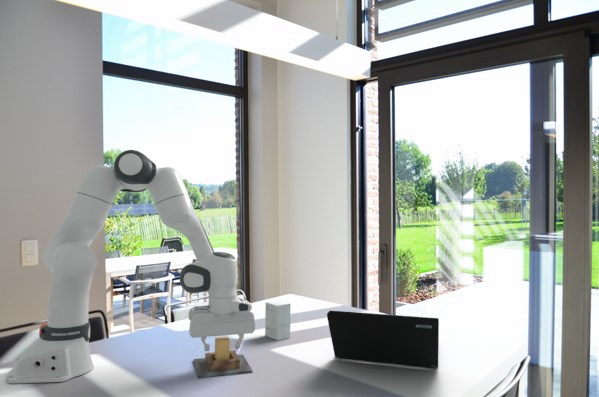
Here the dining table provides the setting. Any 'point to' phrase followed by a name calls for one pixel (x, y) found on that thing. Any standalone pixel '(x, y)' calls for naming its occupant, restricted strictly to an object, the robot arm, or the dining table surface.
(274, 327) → the small box
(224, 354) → the plug block
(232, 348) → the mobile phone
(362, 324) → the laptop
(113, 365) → the dining table surface
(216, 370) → the socket board
